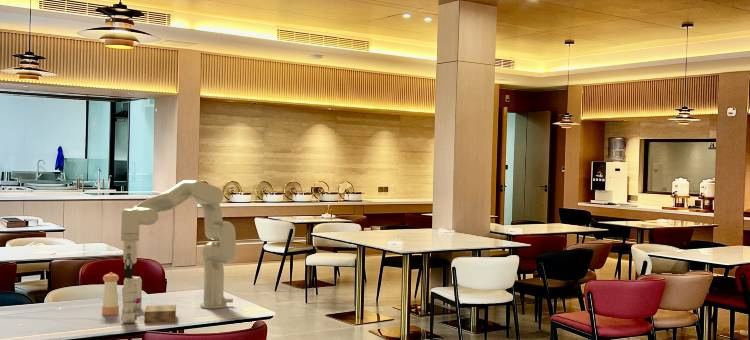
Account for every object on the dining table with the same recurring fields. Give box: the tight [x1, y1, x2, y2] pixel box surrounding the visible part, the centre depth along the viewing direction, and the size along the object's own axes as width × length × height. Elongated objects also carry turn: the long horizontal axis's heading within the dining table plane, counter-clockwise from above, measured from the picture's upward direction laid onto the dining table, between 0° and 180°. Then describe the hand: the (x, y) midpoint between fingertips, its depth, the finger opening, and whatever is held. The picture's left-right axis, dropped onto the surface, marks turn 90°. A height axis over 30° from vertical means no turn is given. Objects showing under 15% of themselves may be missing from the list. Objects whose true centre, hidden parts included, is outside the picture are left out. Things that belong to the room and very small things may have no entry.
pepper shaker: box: [101, 271, 120, 316], centre depth 347 cm, size 7×7×19 cm
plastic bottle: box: [120, 277, 138, 325], centre depth 328 cm, size 6×7×20 cm
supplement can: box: [123, 275, 143, 311], centre depth 359 cm, size 8×8×15 cm
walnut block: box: [144, 304, 177, 324], centre depth 337 cm, size 13×13×5 cm
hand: (128, 276), depth 327 cm, fingers open, 9 cm apart
